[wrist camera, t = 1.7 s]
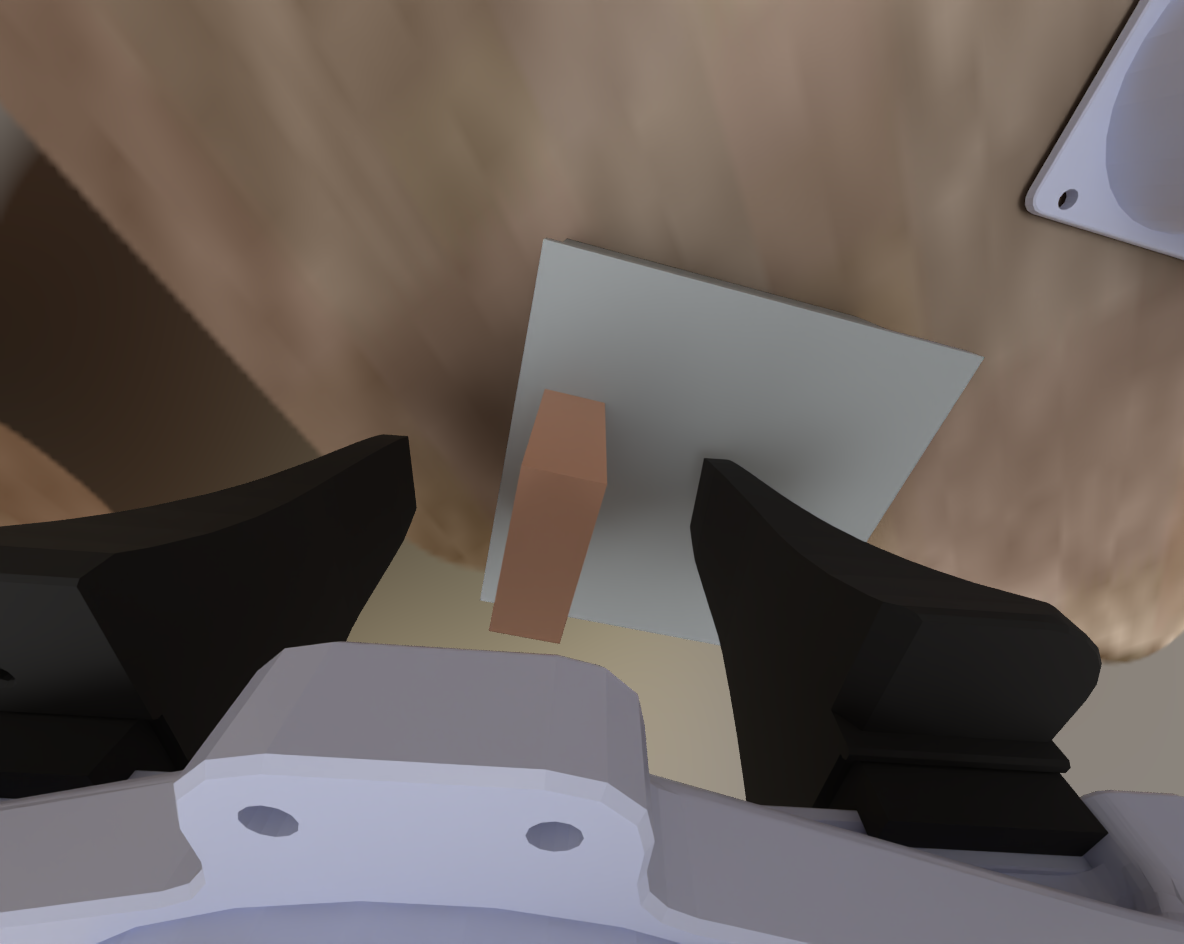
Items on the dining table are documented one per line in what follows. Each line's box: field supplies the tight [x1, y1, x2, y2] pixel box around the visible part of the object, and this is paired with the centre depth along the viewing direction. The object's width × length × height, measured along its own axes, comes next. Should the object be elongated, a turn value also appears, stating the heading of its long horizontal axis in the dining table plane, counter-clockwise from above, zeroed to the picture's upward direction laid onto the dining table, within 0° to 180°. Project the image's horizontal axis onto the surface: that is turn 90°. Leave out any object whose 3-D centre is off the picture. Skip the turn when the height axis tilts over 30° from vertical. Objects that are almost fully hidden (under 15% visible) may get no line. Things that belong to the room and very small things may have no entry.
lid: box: [480, 238, 984, 645], centre depth 12 cm, size 10×10×5 cm
